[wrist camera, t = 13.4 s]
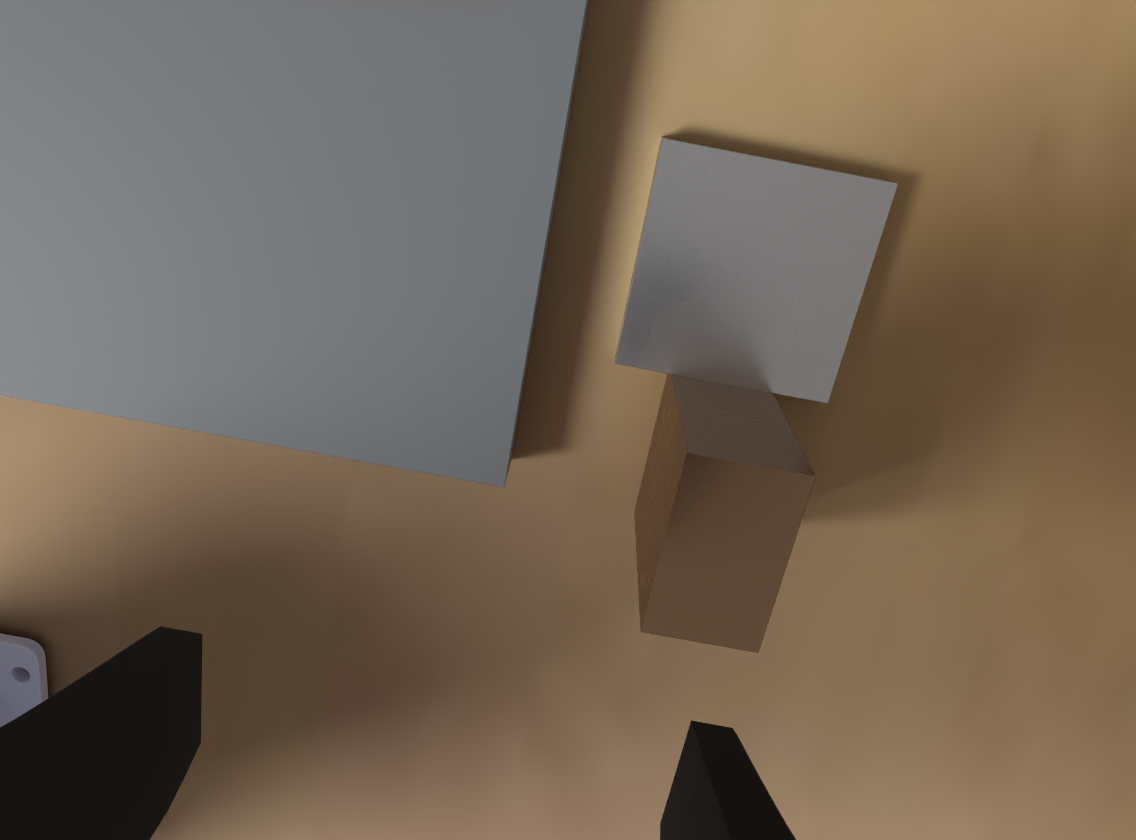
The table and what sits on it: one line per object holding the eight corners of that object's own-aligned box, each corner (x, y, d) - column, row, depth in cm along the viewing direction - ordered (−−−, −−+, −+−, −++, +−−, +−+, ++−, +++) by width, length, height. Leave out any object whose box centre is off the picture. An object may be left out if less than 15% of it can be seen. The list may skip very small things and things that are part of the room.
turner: (776, 538, 21) (821, 664, 17) (584, 502, 21) (576, 620, 17) (889, 180, 18) (985, 215, 13) (661, 136, 18) (678, 156, 13)
